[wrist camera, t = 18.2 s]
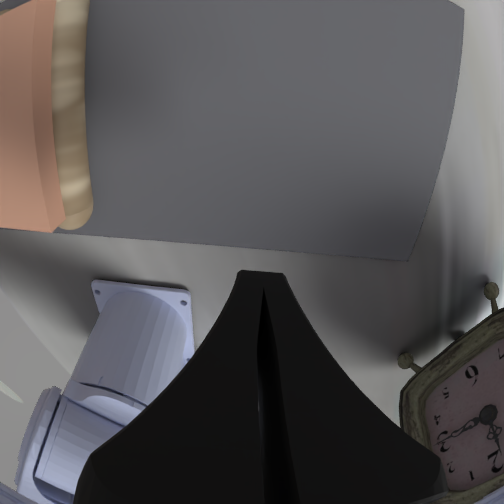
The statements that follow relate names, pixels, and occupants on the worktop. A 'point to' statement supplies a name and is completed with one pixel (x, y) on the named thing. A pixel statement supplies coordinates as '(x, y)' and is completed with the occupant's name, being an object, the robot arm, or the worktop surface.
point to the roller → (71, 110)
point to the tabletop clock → (462, 408)
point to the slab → (28, 120)
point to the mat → (268, 121)
